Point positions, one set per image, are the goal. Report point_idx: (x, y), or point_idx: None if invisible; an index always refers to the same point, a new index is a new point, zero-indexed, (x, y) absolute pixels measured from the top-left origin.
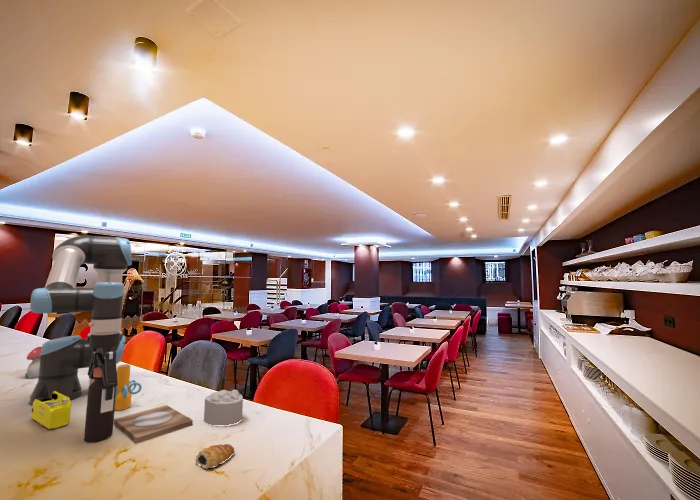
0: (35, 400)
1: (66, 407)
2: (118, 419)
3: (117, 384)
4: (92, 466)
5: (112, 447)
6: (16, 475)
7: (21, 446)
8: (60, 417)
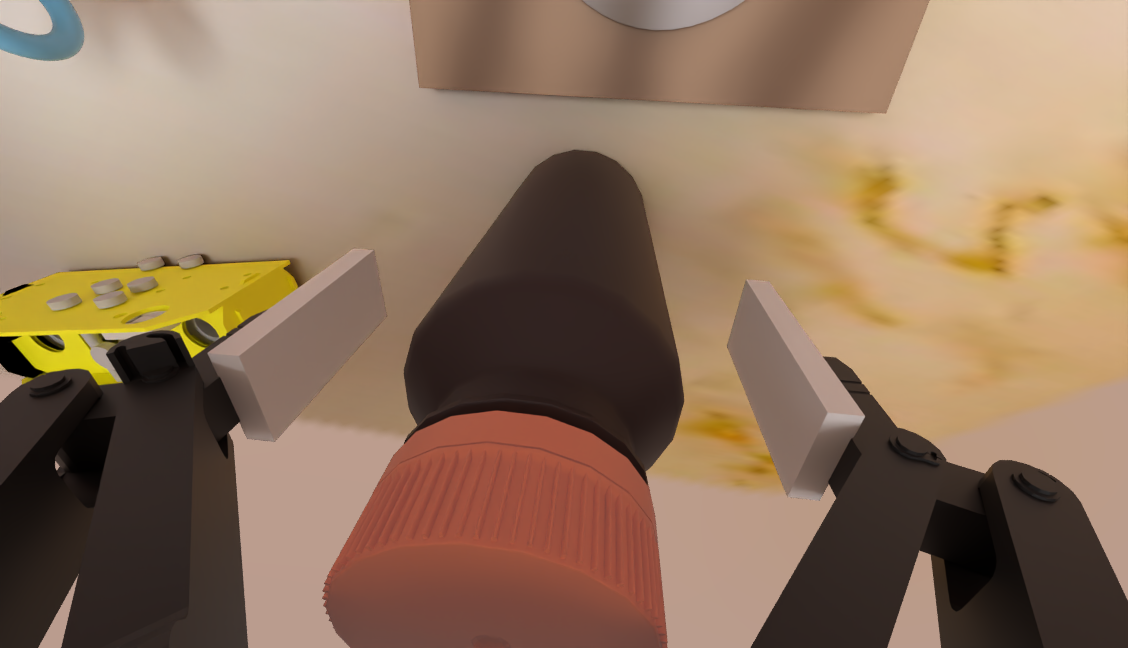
0: None
1: (223, 318)
2: (449, 68)
3: (1064, 486)
4: (874, 328)
5: (775, 214)
6: (677, 462)
7: None
8: None
